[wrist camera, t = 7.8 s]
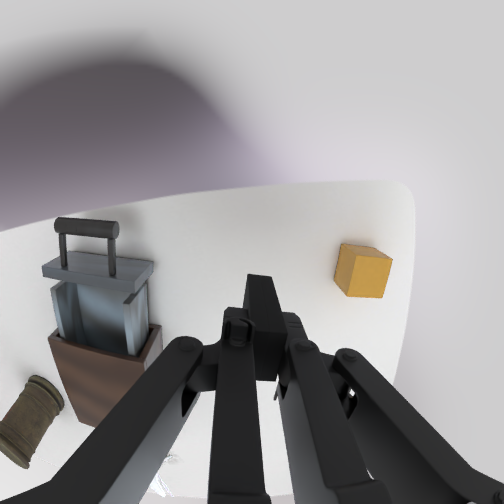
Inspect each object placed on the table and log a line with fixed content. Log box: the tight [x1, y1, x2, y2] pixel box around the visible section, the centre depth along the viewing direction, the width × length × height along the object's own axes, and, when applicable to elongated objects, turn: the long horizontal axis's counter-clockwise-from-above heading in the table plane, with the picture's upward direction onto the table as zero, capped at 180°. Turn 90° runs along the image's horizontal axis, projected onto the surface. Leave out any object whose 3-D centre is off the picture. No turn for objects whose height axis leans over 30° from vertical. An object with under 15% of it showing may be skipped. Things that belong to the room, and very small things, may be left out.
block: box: [334, 244, 393, 298], centre depth 28 cm, size 4×4×4 cm
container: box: [0, 376, 64, 469], centre depth 26 cm, size 9×9×18 cm
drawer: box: [42, 217, 153, 358], centre depth 26 cm, size 20×11×6 cm, turn 173°
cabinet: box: [48, 324, 163, 428], centre depth 29 cm, size 16×13×8 cm
